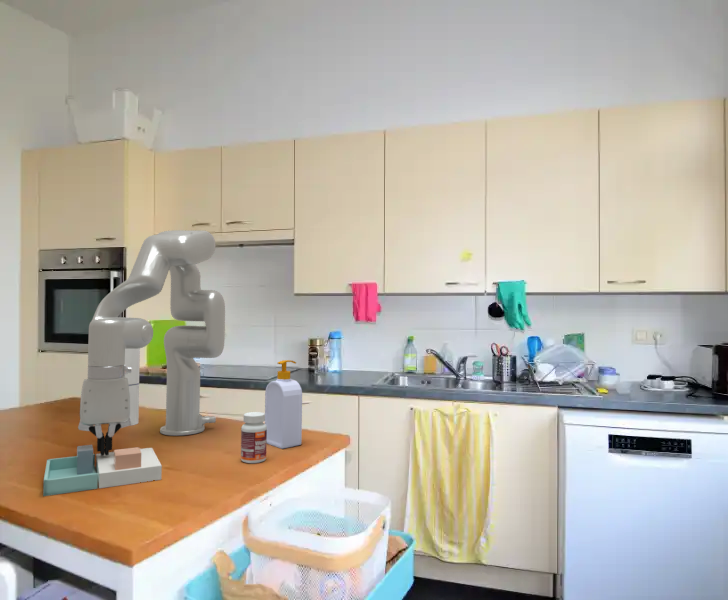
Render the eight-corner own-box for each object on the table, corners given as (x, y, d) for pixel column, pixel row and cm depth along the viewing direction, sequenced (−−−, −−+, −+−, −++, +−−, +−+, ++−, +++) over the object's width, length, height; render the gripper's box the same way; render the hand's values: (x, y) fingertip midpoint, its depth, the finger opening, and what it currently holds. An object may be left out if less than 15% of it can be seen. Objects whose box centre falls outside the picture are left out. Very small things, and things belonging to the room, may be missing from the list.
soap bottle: (303, 444, 141) (305, 361, 141) (282, 449, 136) (284, 362, 136) (284, 438, 147) (286, 358, 148) (264, 442, 143) (265, 360, 143)
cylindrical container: (122, 427, 158) (124, 345, 159) (108, 424, 162) (110, 344, 163) (143, 423, 164) (144, 344, 165) (129, 420, 168) (131, 343, 169)
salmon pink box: (138, 460, 114) (138, 447, 114) (141, 466, 110) (141, 452, 110) (113, 463, 112) (113, 449, 112) (115, 470, 108) (115, 455, 108)
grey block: (92, 444, 118) (77, 446, 116) (93, 449, 113) (77, 451, 112) (91, 466, 117) (76, 468, 116) (92, 472, 113) (77, 474, 112)
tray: (94, 467, 119) (94, 454, 119) (97, 488, 105) (97, 473, 105) (46, 472, 114) (47, 459, 114) (43, 496, 100) (43, 480, 101)
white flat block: (151, 460, 125) (151, 447, 125) (161, 479, 111) (161, 465, 111) (96, 466, 119) (96, 453, 119) (99, 488, 105) (99, 473, 105)
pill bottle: (258, 465, 122) (259, 417, 123) (235, 462, 124) (236, 415, 124) (270, 457, 128) (271, 412, 128) (248, 455, 130) (249, 410, 130)
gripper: (140, 369, 124) (138, 446, 124) (68, 372, 117) (66, 454, 116) (143, 373, 118) (141, 454, 117) (68, 376, 110) (66, 462, 110)
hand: (104, 453), depth 117 cm, fingers closed
